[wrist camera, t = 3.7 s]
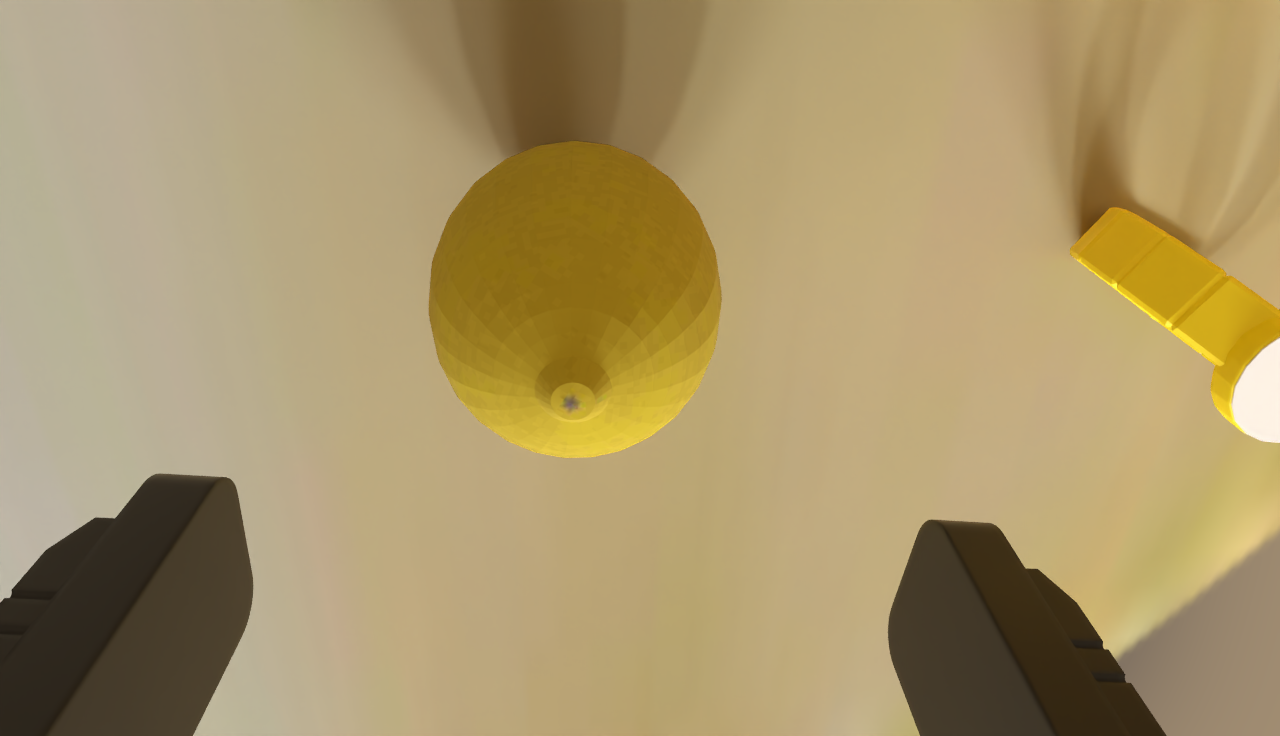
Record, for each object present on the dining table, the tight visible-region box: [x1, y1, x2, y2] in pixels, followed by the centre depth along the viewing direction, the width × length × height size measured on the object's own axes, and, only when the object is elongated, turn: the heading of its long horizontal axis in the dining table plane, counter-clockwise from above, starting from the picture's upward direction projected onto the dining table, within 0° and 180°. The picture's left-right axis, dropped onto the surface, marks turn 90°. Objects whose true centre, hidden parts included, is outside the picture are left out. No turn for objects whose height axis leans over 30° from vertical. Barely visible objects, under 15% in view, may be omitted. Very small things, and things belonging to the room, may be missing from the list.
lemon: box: [429, 141, 722, 458], centre depth 16 cm, size 6×6×8 cm
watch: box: [1070, 207, 1280, 443], centre depth 18 cm, size 6×3×6 cm, turn 56°
